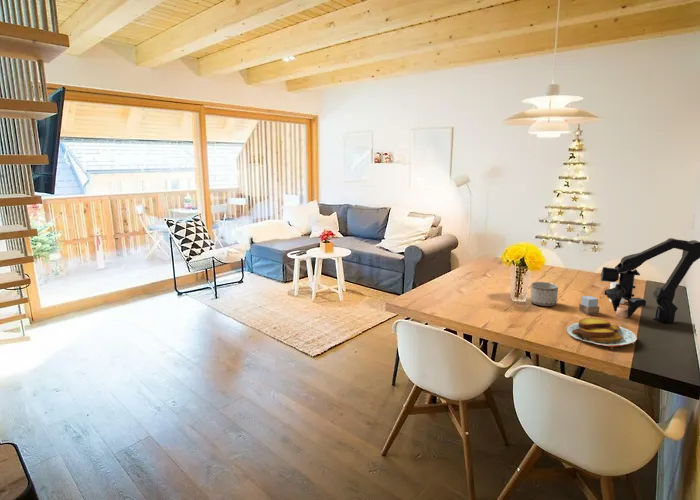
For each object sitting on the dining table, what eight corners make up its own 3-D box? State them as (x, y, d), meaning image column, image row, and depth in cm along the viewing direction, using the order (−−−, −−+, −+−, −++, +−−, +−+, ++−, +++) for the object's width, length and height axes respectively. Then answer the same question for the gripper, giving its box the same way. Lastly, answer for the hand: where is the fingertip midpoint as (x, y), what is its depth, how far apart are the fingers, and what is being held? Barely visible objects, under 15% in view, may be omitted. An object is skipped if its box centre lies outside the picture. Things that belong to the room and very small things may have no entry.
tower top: (597, 306, 192) (598, 298, 191) (588, 307, 191) (588, 299, 191) (590, 303, 197) (590, 295, 196) (580, 304, 196) (581, 296, 196)
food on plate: (627, 357, 149) (629, 341, 148) (557, 338, 167) (558, 323, 166) (642, 337, 167) (644, 322, 165) (577, 322, 184) (578, 308, 183)
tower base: (598, 314, 192) (599, 307, 192) (587, 315, 192) (588, 307, 191) (589, 310, 198) (590, 303, 198) (578, 311, 198) (579, 303, 197)
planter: (524, 301, 212) (525, 283, 210) (542, 298, 217) (544, 280, 215) (543, 309, 201) (545, 289, 199) (561, 306, 205) (563, 286, 203)
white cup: (628, 304, 205) (630, 286, 203) (611, 303, 207) (614, 285, 205) (621, 299, 213) (623, 282, 211) (605, 299, 215) (607, 281, 213)
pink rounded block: (630, 317, 188) (631, 309, 187) (621, 318, 187) (622, 310, 186) (622, 314, 192) (623, 306, 191) (613, 314, 192) (614, 307, 191)
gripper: (596, 278, 194) (592, 308, 198) (626, 289, 176) (622, 322, 179) (616, 277, 196) (612, 307, 199) (649, 288, 178) (644, 320, 181)
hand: (622, 314), depth 190 cm, fingers open, 8 cm apart
